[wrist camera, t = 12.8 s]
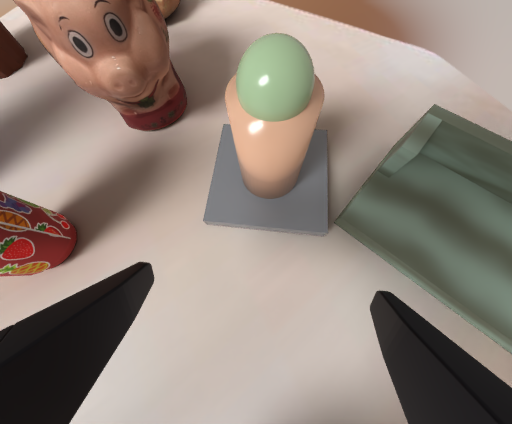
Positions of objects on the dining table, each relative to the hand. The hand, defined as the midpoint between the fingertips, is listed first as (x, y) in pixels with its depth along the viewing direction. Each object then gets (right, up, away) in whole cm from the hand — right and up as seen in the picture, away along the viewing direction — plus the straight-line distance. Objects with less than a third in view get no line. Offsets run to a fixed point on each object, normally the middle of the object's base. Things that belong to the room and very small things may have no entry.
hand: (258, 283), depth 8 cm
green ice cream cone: (+1, +7, +14) cm, 16 cm away
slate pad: (+2, +7, +16) cm, 17 cm away
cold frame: (+21, 0, +12) cm, 24 cm away
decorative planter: (-16, +20, +21) cm, 33 cm away
